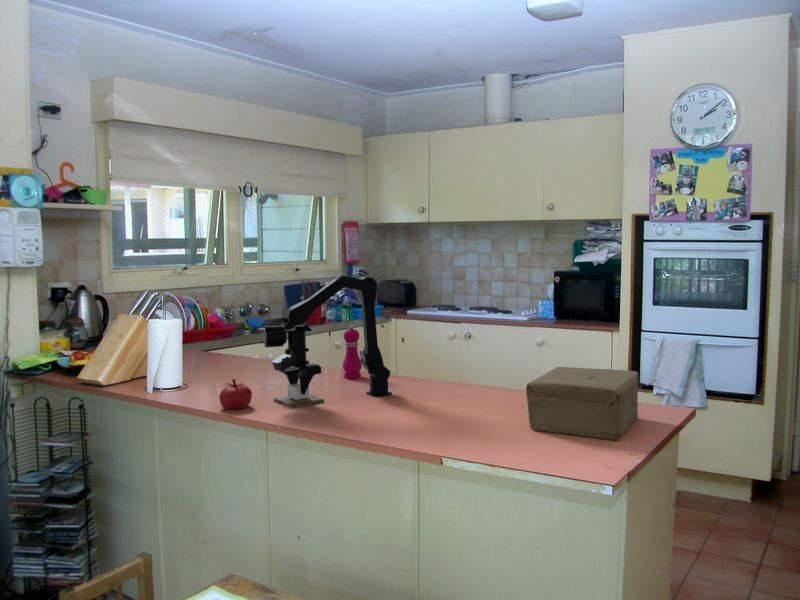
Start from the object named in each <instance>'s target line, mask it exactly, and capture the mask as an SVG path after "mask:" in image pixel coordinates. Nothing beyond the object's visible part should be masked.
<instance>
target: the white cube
mask: <svg viewBox="0 0 800 600" xmlns="http://www.w3.org/2000/svg"><path fill="white" fill-rule="evenodd" d="M309 394H310V385H309V386H308V388H307V390H306V393H305V394H303V395H302V394H301V388H300V382H298V383H296V384H291V385H290V384H287V396H288V397H289V398H292V399H295V400H298V399H303V398H309Z"/></svg>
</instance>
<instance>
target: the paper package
mask: <svg viewBox="0 0 800 600" xmlns="http://www.w3.org/2000/svg"><path fill="white" fill-rule="evenodd" d="M525 389H526V390H525V391H526V401H527V411H528V413H527V414H528V420H529V421H528V422H529V427H530V429H531V430H534V431H539V432H546V433H555V434H564V435H570V436H571V435H572V436H573V435H574V436H579V437H588V438H596V439H604V440H613V441H614V440H615V441H616V440H620V439H621V438H622V436H623V435H624V434H626V432H627V431H628V429H629V428H630V427H631V426H632V425H633V423H634V422H636V421H637V419H638V418H639V417H638V416H639V415H638V411H639V410H638V404H639V403H638V402H639V401H638V396H639V395H638V394H639V373H638V371H634V370H626V369H625V370H624V369H622V370H620V369H609V368H608V369H607V368H606V369H605V368H604V369H603V368H589V367H588V368H587V367H586V368H585V367H570V366H569V367H568V366H565V367H564V366H556V367H555V368H553V369H551V370H550V371H547V372H546V373H544V374H543V375H540V376H538V377H537V378H535V379H533V380H532V381H530V382H528V383H527V384H526V388H525Z"/></svg>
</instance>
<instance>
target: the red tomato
mask: <svg viewBox="0 0 800 600" xmlns="http://www.w3.org/2000/svg"><path fill="white" fill-rule="evenodd" d="M231 381H232V383H230V382H227V383H226V386H225V387H224V388H223V389H222V390H221V392H220V393H219V397H218V399H219V401H220V405H221V407H222V408H223V409H225V410H241V408H242V409H244V408H247V407H248V406H249V405H250V403H251V401H252V397H253V392H252V390H251V388H250V387H248V386H247V385H246V384H244V383H245V382H239V383H236V378H232V379H231Z"/></svg>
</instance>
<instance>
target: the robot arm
mask: <svg viewBox="0 0 800 600" xmlns="http://www.w3.org/2000/svg"><path fill="white" fill-rule="evenodd" d="M345 288H346V289H351V290H356V294H357V296H358V299H359V302H360V304H361V316H362V329H363V330H362V331H363V341H364V347H363V350H359V358H360V363H361V364H362V367H363V368H364V369H365V370H366V371H367V373H368V375H369V391H366V395H370V396H373V397H377V398H378V397H383V396H387V395H388V396H389V395H393V392H392V391H389V378H390V376H391V371H390V370H389V368H387V367H386V366H385V365H384V360H383V355H382V353H381V350H380V347H379V345H378V334H377V333H378V332H377V321H376V320H377V319H376V309H375V308H376V307H375V303H376V298H377V295H378V282H377V281H376V280H375V279H374V278H373V277H371V276H366V275H365V276H361V277H359V278H358V277H350V276H346V275H340V274H339V275H337V276H336V277H335V278H334V279H333V280H331V281H330V282H328V283H327V284H326V285H325V286H323V287H322V288H320V289H319V290H318V291H316V292H315V293H314V294H312V295H311V296H310V297H308V298H307V299H305V300H303V301H302V300H301V301H299V302H298V303H296V304H294V305H291V306H290V307H288V309H287V310H286V311H285V312H286V313H285V318H284V319H283V321H281V323H280V325H272V326H271V325H264V332H263V333H264V334H263V343H264V344H263V345H264V347H265V348H279V347H284V345H286V343H287V348H285V350H284V354H282V355H279V356H278V357H276V358H274V359H273V360H272V361H271V363H272V367H273V369H274V371H277V372H280V373H282V374H283V375H285V376H286V379H287V381H288V383H289V384H288V385H291V384H296V383H300V388H301V394H302V395H303V394H305V393H306V390H307V388H308V386H309V387H310V383H311V381H312V380H313V377H314V376H315V375H320V374H322V367H321V366H320V364H317V363H316V364H315V363H310V360H307V352H309V351H310V349H309V347H307V342H306V339H307V336H306V334H307V333H306V332H312V328H311V327H309V325H308V324H307V323H305V322H306V321H307V320H308V319H309V318H310V317H311V316H312V314H313V313H314V312H315V310H317V308H319V307H321V305H323V304H325V303H326V302H327V301H328V300H330V299H331V298H332V297H334V296H336V295H337V293H339V292H340V291H341V290H343V289H345Z"/></svg>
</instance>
